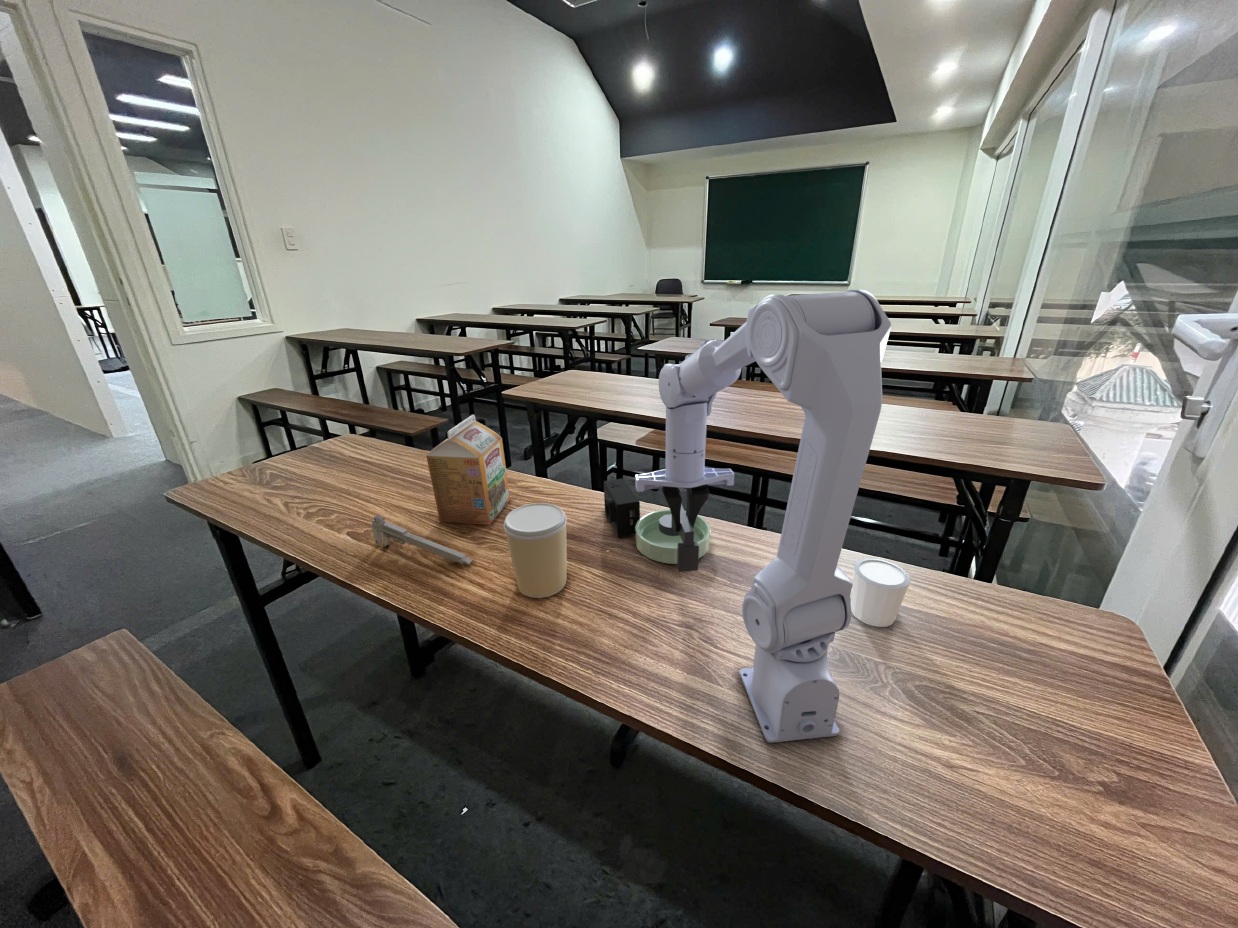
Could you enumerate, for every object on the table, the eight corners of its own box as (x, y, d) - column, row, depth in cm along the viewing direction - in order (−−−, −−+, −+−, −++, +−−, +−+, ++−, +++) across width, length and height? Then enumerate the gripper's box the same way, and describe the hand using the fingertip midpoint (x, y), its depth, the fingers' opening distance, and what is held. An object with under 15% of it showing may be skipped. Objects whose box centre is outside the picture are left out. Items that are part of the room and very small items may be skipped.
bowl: (718, 562, 80) (719, 545, 78) (640, 568, 79) (640, 551, 77) (699, 523, 91) (700, 507, 90) (631, 528, 90) (631, 511, 89)
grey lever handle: (703, 570, 73) (705, 531, 70) (672, 572, 72) (673, 533, 70) (683, 520, 86) (684, 487, 83) (656, 522, 86) (656, 488, 83)
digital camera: (598, 512, 96) (597, 481, 94) (624, 508, 98) (624, 477, 95) (611, 539, 87) (610, 505, 84) (640, 534, 88) (639, 500, 86)
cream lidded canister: (580, 569, 79) (575, 505, 74) (558, 606, 71) (551, 536, 66) (528, 561, 81) (520, 499, 77) (501, 596, 73) (491, 528, 68)
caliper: (376, 545, 87) (367, 515, 85) (380, 542, 88) (372, 512, 86) (468, 565, 81) (462, 533, 78) (472, 562, 82) (466, 530, 79)
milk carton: (489, 524, 93) (474, 432, 86) (439, 521, 95) (421, 431, 87) (510, 499, 103) (498, 414, 95) (464, 496, 104) (449, 413, 97)
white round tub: (907, 633, 64) (918, 590, 61) (851, 627, 65) (860, 585, 62) (891, 599, 70) (901, 559, 67) (840, 594, 71) (848, 555, 68)
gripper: (726, 434, 73) (721, 512, 79) (632, 439, 72) (633, 518, 78) (741, 451, 67) (734, 534, 72) (638, 457, 66) (639, 541, 71)
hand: (683, 527), depth 74 cm, fingers closed on grey lever handle
